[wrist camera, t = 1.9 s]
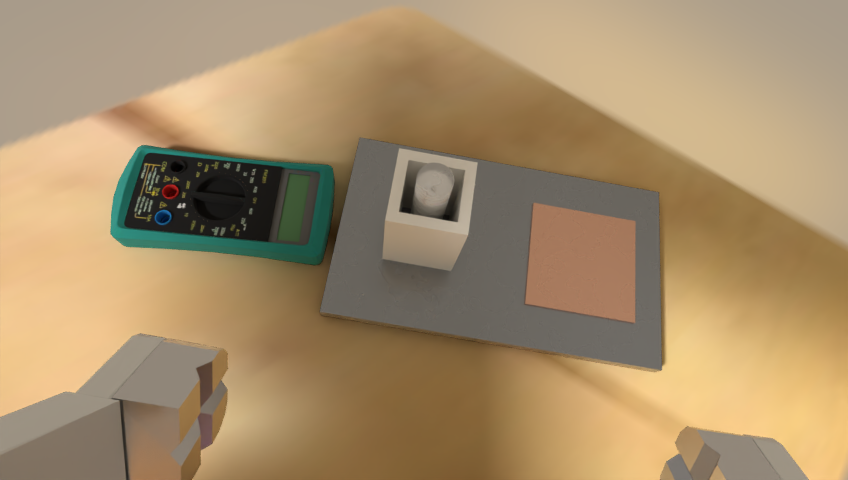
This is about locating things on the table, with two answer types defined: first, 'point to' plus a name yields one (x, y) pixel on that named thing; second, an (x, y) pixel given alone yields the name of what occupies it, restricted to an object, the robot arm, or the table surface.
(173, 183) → the digital multimeter
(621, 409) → the table surface
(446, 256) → the sleeve
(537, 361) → the table surface
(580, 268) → the post plate
